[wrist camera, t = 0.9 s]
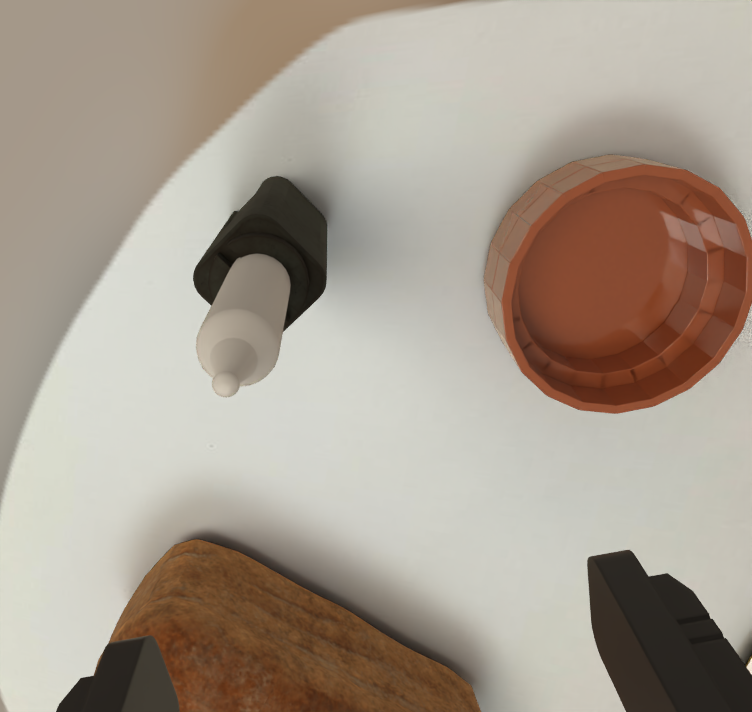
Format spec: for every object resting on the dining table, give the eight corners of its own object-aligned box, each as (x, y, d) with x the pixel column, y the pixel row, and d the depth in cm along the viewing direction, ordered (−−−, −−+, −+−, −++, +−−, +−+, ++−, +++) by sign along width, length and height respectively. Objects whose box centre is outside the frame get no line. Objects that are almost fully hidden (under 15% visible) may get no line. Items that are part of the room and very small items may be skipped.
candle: (279, 280, 46) (229, 489, 23) (220, 225, 45) (104, 389, 22) (334, 227, 45) (341, 389, 22) (276, 167, 44) (217, 276, 20)
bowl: (468, 179, 45) (488, 194, 39) (705, 133, 44) (759, 141, 39) (495, 393, 50) (516, 433, 45) (706, 353, 50) (753, 387, 45)
